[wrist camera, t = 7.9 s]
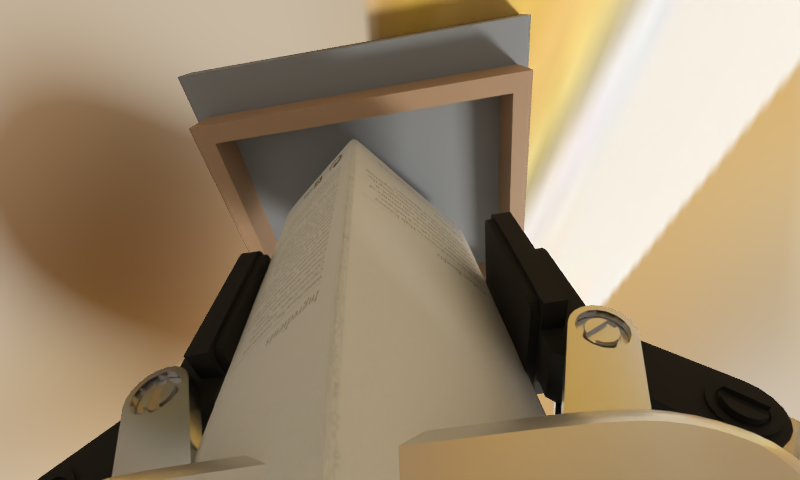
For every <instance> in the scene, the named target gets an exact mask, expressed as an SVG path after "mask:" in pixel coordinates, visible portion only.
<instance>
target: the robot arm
mask: <svg viewBox="0 0 800 480" xmlns="http://www.w3.org/2000/svg"><path fill="white" fill-rule="evenodd" d="M485 258H486V285H487V287H488V289H489V291H490V293H491V296H492V298H493V300H494V302H495V304H496V307H497V309H498V311H499V313H500V315H501V318H502V320H503V322H504V324H505V326H506V329H507V331H508V333H509V335H510V337H511V340H512V342H513V344H514V347H515V349H516V351H517V353H518V356H519V358H520V360H521V363H522V365H523V367H524V370H525V372H526V373H527V375H528V377H529V379H530V381H531V383H532V385H533V388H534V390H535V392H536V394H541V393H544V395H545V396H546V397H547V398H549V399H551V400H552V401H554V402H555V403H554V415H548V416H539V417H530V418H521V419H513V420H505V421H498V422H490V423H482V424H475V425H467V426H459V427H451V428H444V429H436V430H428V431H424V432H422V433H420V434H419V435H417V436H415V437H413V438H411V439H410V440H408V441H406V442H405V443H403V444H401V445H400V446H398V448H399V471H400V480H800V422H799V421H797V420H795V419H793V418H790V417H789V416H788V415H787V413H786V412H785V410H784V409H783V408H782V407H781V406H780V405H779V404H778V403H777V402H776V401H775V400H774V399H773V398H772V397H771V396H769V395H768V394H766V393H765V392H763V391H762V390H760V389H759V388H757V387H755V386H753V385H751V384H749V383H747V382H745V381H742V380H740V379H737V378H735V377H732V376H730V375H727V374H725V373H722V372H719V371H717V370H714V369H712V368H709V367H707V366H704V365H702V364H699V363H696V362H694V361H691V360H689V359H686V358H684V357H681V356H679V355H676V354H674V353H671V352H669V351H666V350H663V349H661V348H658V347H656V346H653V345H651V344H648V343H646V342H643V341H641V339H640V334H639V331H638V329H637V327H636V325H635V324H634V323H633V322H632V321H631V319H629V318H628V317H626V316H625V315H624V314H622V313H620V312H618V311H616V310H614V309H611V308H607V307H603V306H594V305H590V306H585V304H584V303H583V301H582V300H581V298H580V297H579V296H578V294H577V293H576V291H575V290H574V289H573V287H572V286H571V284H570V283H569V282H568V280H567V279H566V277H565V276H564V274H563V273H562V272H561V270H560V269H559V267H558V266H557V265H556V263H555V262H554V260H553V259H552V258H551V256H550V255H549V253H548V252H547V251H546V250H545V249H543V248H539V249H535V248H534V247H533V245H532V244H531V242H530V241H529V239H528V238H527V236H526V235H525V233H524V232H523V230H522V229H521V227H520V226H519V224H518V223H517V221H516V220H515V218H514V217H513V215H512V213H511V212H504V213H497V214H492V215H491V219H488V220H486V221H485ZM270 261H271V259H270V257H269V255H267V254H265V255H264V254H263V253H262V252H261V251H256V252H249V253H243V254H241V256H240V257H239V258H238V260H237V262H236V264H235V266H234V268H233V269H232V271H231V273H230V274H229V276H228V278H227V280H226V282H225V284H224V285H223V287H222V289H221V291H220V292H219V294H218V296H217V298H216V299H215V301H214V303H213V305H212V307H211V308H210V310H209V312H208V314H207V316H206V317H205V319H204V321H203V323H202V325H201V326H200V328H199V330H198V332H197V333H196V335H195V337H194V339H193V340H192V342H191V344H190V346H189V347H188V349H187V351H186V353H185V355H184V358H185V359H184V361H183V363H182V364H181V366H180V367H178V366H173V367H167V368H164V369H161V370H159V371H156V372H155V373H153V374H151V375H149V376H148V377H146V378H145V379H144V380H143V381H141V382H140V383H139V384H138V385H137V386H136V387H135V388H134V389H133V390H132V391H131V393H130V394H129V395H128V397H127V398H126V400H125V403H124V406H123V409H122V415H121V421H119V422H118V423H116V424H115V425H114V426H112V427H111V428H109V429H108V430H107V431H105V432H104V433H102V434H101V435H100V436H98V437H97V438H95V439H94V440H92V441H91V442H90V443H88V444H87V445H85V446H84V447H83V448H81V449H80V450H78V451H77V452H76V453H74V454H73V455H71V456H70V457H69V458H67V459H66V460H64V461H63V462H62V463H60V464H59V465H57V466H56V467H54V468H53V469H52V470H50V471H49V472H48V473H46V474H45V475H43V476H42V477H40V478H39V479H38V480H264V474H265V467H266V464H265V463H263V462H261V461H258V460H256V459H254V458H251V457H248V456H238V457H231V458H224V459H217V460H210V461H203V462H196V463H194V461H195V456H196V451H197V449H198V446H199V444H200V442H201V439H202V437H203V434H204V431H205V429H206V426H207V423H208V421H209V418H210V416H211V413H212V411H213V408H214V405H215V402H216V400H217V397H218V395H219V392H220V390H221V387H222V384H223V382H224V379H225V377H226V374H227V372H228V369H229V367H230V364H231V362H232V359H233V356H234V354H235V351H236V349H237V346H238V343H239V341H240V338H241V336H242V333H243V330H244V328H245V325H246V323H247V320H248V318H249V315H250V312H251V310H252V307H253V304H254V302H255V299H256V297H257V294H258V292H259V289H260V287H261V284H262V282H263V279H264V276H265V274H266V271H267V269H268V266H269V264H270Z"/></svg>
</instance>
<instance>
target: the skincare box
mask: <svg viewBox="0 0 800 480" xmlns="http://www.w3.org/2000/svg"><path fill="white" fill-rule="evenodd" d="M539 416H546V414H545V412H544V410H543V408H542V405H541V403H540V401H539V399H538V396H537V394H536V392H535V390H534V388H533V385H532V383H531V381H530V379H529V377H528V375H527V373H526V372H525V370H524V367H523V365H522V363H521V360H520V358H519V356H518V353H517V351H516V349H515V347H514V344H513V342H512V340H511V337H510V335H509V333H508V331H507V329H506V326H505V324H504V322H503V320H502V318H501V315H500V313H499V311H498V309H497V307H496V304H495V302H494V300H493V298H492V296H491V293H490V291H489V289H488V287H487V285H486V282H485V280H484V278H483V276H482V273H481V271H480V269H479V267H478V265H477V262H476V260H475V258H474V256H473V254H472V251H471V249H470V247H469V245H468V243H467V240H466V238H465V236H464V234H463V232H462V230H461V229H460V228H458V227H457V226H456V225H455V224H454V223H453V222H451V221H450V220H449V219H448V218H447V217H446V216H444V215H443V214H442V213H441V212H440V211H439V210H438V209H436V208H435V207H434V206H433V205H432V204H431V203H429V202H428V201H427V200H426V199H425V198H424V197H423V196H421V195H420V194H419V193H418V192H417V191H416V190H414V189H413V188H412V187H411V186H410V185H409V184H407V183H406V182H405V181H404V180H403V179H402V178H401V177H399V176H398V175H397V174H396V173H395V172H394V171H392V170H391V169H390V168H389V167H388V166H387V165H386V164H384V163H383V162H382V161H381V160H380V159H379V158H377V157H376V156H375V155H374V154H373V153H372V152H371V151H369V150H368V149H367V148H366V147H365V146H364V145H362V144H361V143H360V142H359V141H357V140H355V139H353V140H351V141H350V142H349V143H348V144H347V145H346V146H345V147H344V148H343V150H342V151H341V152H340V153H339V154H338V155H337V157H336V158H335V159H334V160H333V161H332V162H331V163H330V164H329V166H328V167H327V168H326V169H325V170H324V171H323V172H322V174H321V175H320V176H319V177H318V178H317V179H316V181H315V182H314V183H313V184H312V185H311V186H310V188H309V189H308V190H307V191H306V192H305V193H304V195H303V196H302V197H301V198H300V199H299V200H298V202H297V203H296V204H295V205H294V207H293V208H292V209H291V210H290V212H289V213H288V216H287V219H286V222H285V225H284V228H283V230H282V233H281V236H280V238H279V241H278V243H277V245H276V248H275V251H274V253H273V256H272V258H271V261H270V264H269V266H268V269H267V271H266V274H265V276H264V279H263V282H262V284H261V287H260V289H259V292H258V294H257V297H256V299H255V302H254V304H253V307H252V310H251V312H250V315H249V318H248V320H247V323H246V325H245V328H244V330H243V333H242V336H241V338H240V341H239V343H238V346H237V349H236V351H235V354H234V356H233V359H232V362H231V364H230V367H229V369H228V372H227V374H226V377H225V379H224V382H223V384H222V387H221V390H220V392H219V395H218V397H217V400H216V402H215V405H214V408H213V411H212V413H211V416H210V418H209V421H208V423H207V426H206V429H205V431H204V434H203V437H202V439H201V442H200V444H199V446H198V449H197V451H196V456H195V461H194V463H196V462H203V461H210V460H217V459H224V458H231V457H238V456H248V457H251V458H254V459H256V460H258V461H261V462H263V463H265V464H266V467H265V474H264V480H400V471H399V448H398V446H400V445H401V444H403V443H405V442H406V441H408V440H410V439H411V438H413V437H415V436H417V435H419V434H420V433H422V432H424V431H428V430H436V429H444V428H451V427H459V426H467V425H475V424H482V423H490V422H498V421H505V420H513V419H521V418H530V417H539Z"/></svg>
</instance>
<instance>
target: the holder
mask: <svg viewBox="0 0 800 480" xmlns="http://www.w3.org/2000/svg"><path fill="white" fill-rule="evenodd" d="M530 22H531V15H527V14H519V15H514V16H508V17H503V18H497V19H491V20H486V21H480V22H474V23H469V24H463V25H458V26H452V27H446V28H441V29H435V30H429V31H424V32H418V33H413V34H407V35H401V36H396V37H390V38H384V39H379V40H373V41H367V42H362V43H356V44H351V45H345V46H339V47H334V48H328V49H322V50H317V51H311V52H306V53H300V54H294V55H289V56H283V57H278V58H272V59H266V60H261V61H255V62H249V63H244V64H238V65H232V66H227V67H221V68H216V69H210V70H204V71H199V72H193V73H189V74H186V75H183V76H180V77H178V79H179V81H180V83H181V85H182V87H183V89H184V92H185V94H186V96H187V98H188V100H189V102H190V104H191V107H192V109H193V111H194V113H195V115H196V117H197V119H198V122H199V123H198V124H196V125H194V126H193V127H191V128H190V132H191V134H192V136H193V138H194V140H195V142H196V144H197V146H198V148H199V150H200V152H201V154H202V156H203V158H204V160H205V163H206V165H207V167H208V169H209V171H210V173H211V175H212V177H213V179H214V181H215V183H216V185H217V187H218V189H219V191H220V193H221V195H222V198H223V200H224V202H225V204H226V206H227V208H228V210H229V212H230V214H231V216H232V218H233V220H234V222H235V224H236V226H237V228H238V231H239V233H240V235H241V237H242V239H243V241H244V243H245V245H246V247H247V249H248V251H249V252H256V251H261V252H262V253H263V254H264V255H265V254H267V255H269V257H270V259H271V258H272V256H273V253H274V251H275V248H276V245H277V243H278V241H279V238H280V236H281V233H282V230H283V228H284V225H285V222H286V219H287V216H288V213H289V212H290V210H291V209H292V208H293V207H294V205H295V204H296V203H297V202H298V200H299V199H300V198H301V197H302V196H303V195H304V193H305V192H306V191H307V190H308V189H309V188H310V186H311V185H312V184H313V183H314V182H315V181H316V179H317V178H318V177H319V176H320V175H321V174H322V172H323V171H324V170H325V169H326V168H327V167H328V166H329V164H330V163H331V162H332V161H333V160H334V159H335V158H336V157H337V155H338V154H339V153H340V152H341V151H342V150H343V148H344V147H345V146H346V145H347V144H348V143H349V142H350V141H351V140H353V139H355V140H357V141H359V142H360V143H361V144H362V145H364V146H365V147H366V148H367V149H368V150H369V151H371V152H372V153H373V154H374V155H375V156H376V157H377V158H379V159H380V160H381V161H382V162H383V163H384V164H386V165H387V166H388V167H389V168H390V169H391V170H392V171H394V172H395V173H396V174H397V175H398V176H399V177H401V178H402V179H403V180H404V181H405V182H406V183H407V184H409V185H410V186H411V187H412V188H413V189H414V190H416V191H417V192H418V193H419V194H420V195H421V196H423V197H424V198H425V199H426V200H427V201H428V202H429V203H431V204H432V205H433V206H434V207H435V208H436V209H438V210H439V211H440V212H441V213H442V214H443V215H444V216H446V217H447V218H448V219H449V220H450V221H451V222H453V223H454V224H455V225H456V226H457V227H458V228H460V229H461V230H462V232H463V234H464V236H465V238H466V240H467V243H468V245H469V247H470V249H471V251H472V254H473V256H474V258H475V260H476V262H477V265H478V267H479V269H480V271H481V273H482V276H483V278H484V280H485V282H486V258H485V221H486V220H488V219H491V215H492V214H497V213H504V212H511V213H512V215H513V217H514V218H515V220H516V221H517V223H518V224H519V226H520V227H521V229H522V230H523V232H524V217H525V200H526V183H527V165H528V148H529V131H530V114H531V97H532V79H533V70H532V69H530V68H528V62H529V42H530Z"/></svg>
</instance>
